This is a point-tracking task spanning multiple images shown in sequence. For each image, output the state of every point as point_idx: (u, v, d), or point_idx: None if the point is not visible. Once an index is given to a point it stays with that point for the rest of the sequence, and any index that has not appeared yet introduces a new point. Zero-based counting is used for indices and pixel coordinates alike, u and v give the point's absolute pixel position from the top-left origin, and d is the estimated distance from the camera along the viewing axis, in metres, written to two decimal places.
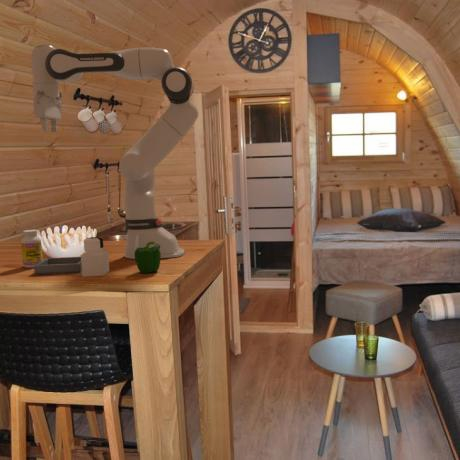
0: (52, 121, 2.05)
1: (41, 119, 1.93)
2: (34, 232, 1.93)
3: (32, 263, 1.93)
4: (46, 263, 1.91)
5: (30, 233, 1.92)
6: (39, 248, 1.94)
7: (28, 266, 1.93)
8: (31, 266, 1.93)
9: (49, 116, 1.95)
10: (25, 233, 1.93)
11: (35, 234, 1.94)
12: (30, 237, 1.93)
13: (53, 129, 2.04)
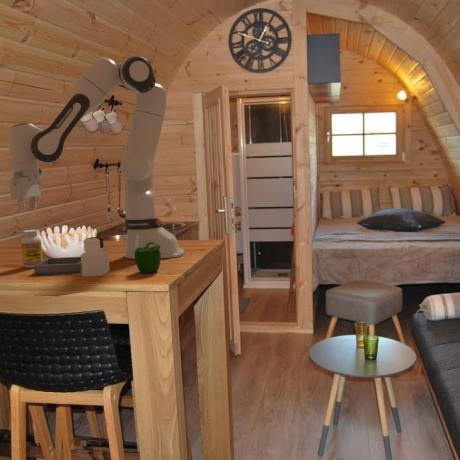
0: (31, 198, 1.97)
1: (18, 200, 1.86)
2: (34, 232, 1.93)
3: (32, 263, 1.93)
4: (46, 263, 1.91)
5: (30, 233, 1.92)
6: (39, 248, 1.94)
7: (28, 266, 1.93)
8: (31, 266, 1.93)
9: (27, 196, 1.88)
10: (25, 233, 1.93)
11: (35, 234, 1.94)
12: (30, 237, 1.93)
13: (32, 206, 1.97)
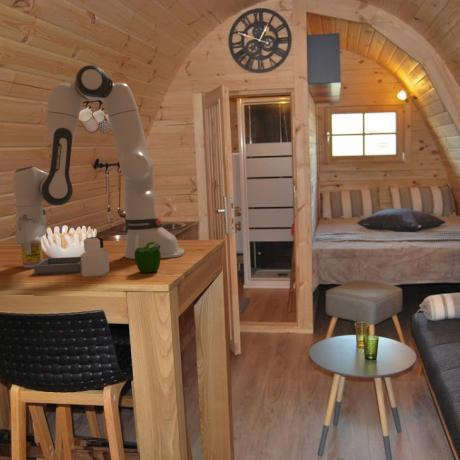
0: None
1: (24, 243, 1.89)
2: None
3: (32, 263, 1.93)
4: (46, 263, 1.91)
5: None
6: (39, 248, 1.94)
7: (28, 266, 1.93)
8: (31, 266, 1.93)
9: (32, 239, 1.90)
10: None
11: None
12: None
13: None
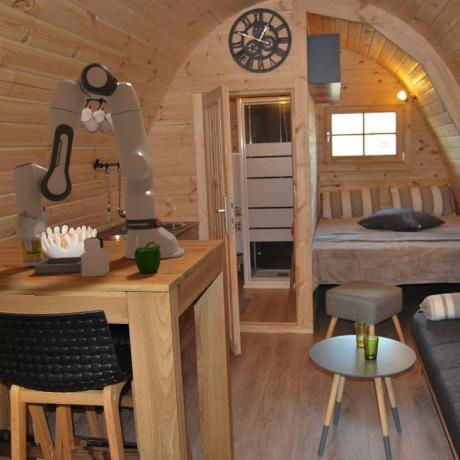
0: None
1: (25, 240, 1.89)
2: None
3: (33, 261, 1.92)
4: (46, 263, 1.91)
5: None
6: (39, 245, 1.94)
7: (28, 264, 1.93)
8: (31, 264, 1.93)
9: (32, 236, 1.90)
10: None
11: None
12: None
13: None
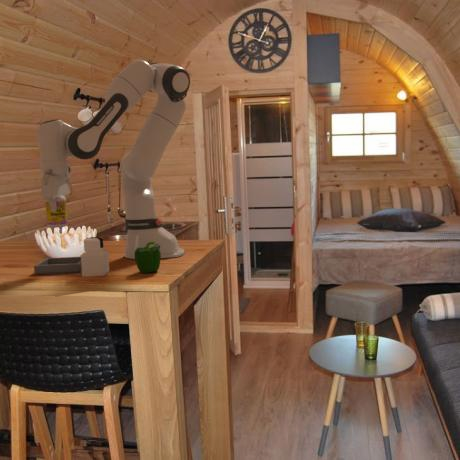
0: None
1: (50, 200, 1.79)
2: None
3: (57, 223, 1.83)
4: (46, 263, 1.91)
5: None
6: (64, 207, 1.84)
7: (52, 226, 1.83)
8: (55, 226, 1.83)
9: (57, 196, 1.80)
10: None
11: None
12: None
13: None
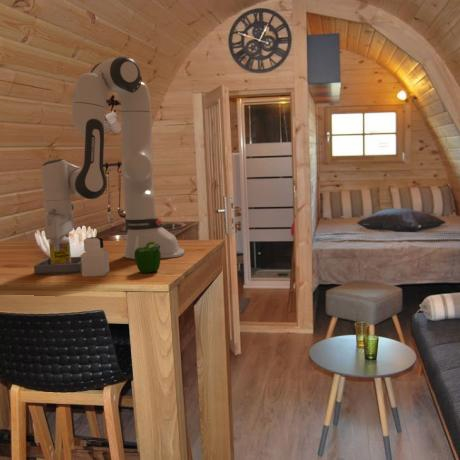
0: None
1: (52, 239, 1.80)
2: None
3: None
4: (46, 263, 1.91)
5: None
6: (68, 249, 1.86)
7: None
8: None
9: (61, 235, 1.82)
10: None
11: None
12: None
13: None
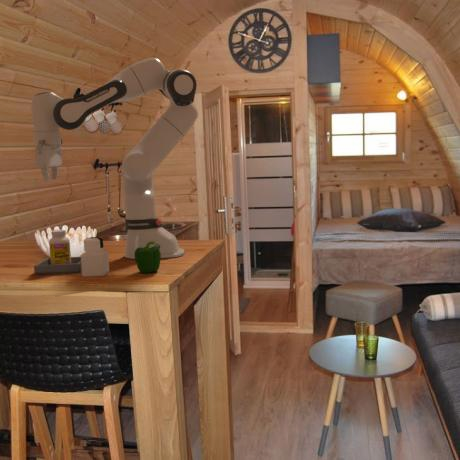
0: (53, 168, 1.99)
1: (42, 169, 1.87)
2: (62, 232, 1.85)
3: None
4: (46, 263, 1.91)
5: (59, 233, 1.84)
6: (68, 249, 1.86)
7: None
8: None
9: (50, 165, 1.89)
10: (53, 233, 1.85)
11: (64, 234, 1.86)
12: (58, 237, 1.85)
13: (54, 176, 1.98)
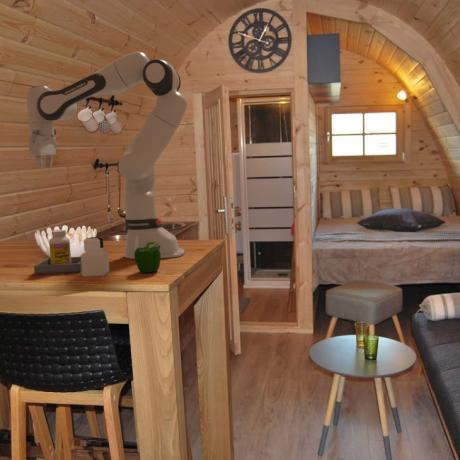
0: (47, 157, 2.13)
1: (36, 157, 2.02)
2: (62, 232, 1.85)
3: None
4: (46, 263, 1.91)
5: (59, 233, 1.85)
6: (68, 249, 1.86)
7: None
8: None
9: (44, 154, 2.04)
10: (53, 233, 1.85)
11: (64, 234, 1.86)
12: (59, 237, 1.85)
13: (48, 165, 2.13)
